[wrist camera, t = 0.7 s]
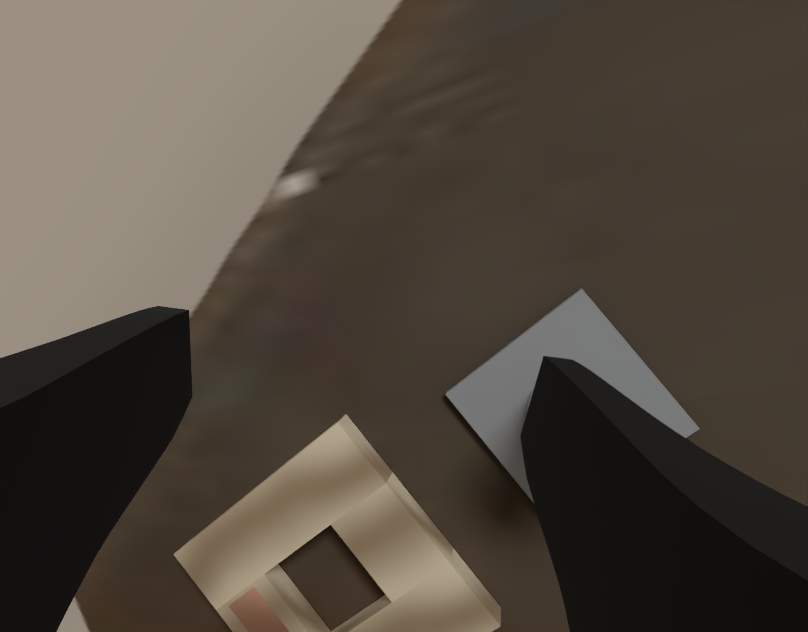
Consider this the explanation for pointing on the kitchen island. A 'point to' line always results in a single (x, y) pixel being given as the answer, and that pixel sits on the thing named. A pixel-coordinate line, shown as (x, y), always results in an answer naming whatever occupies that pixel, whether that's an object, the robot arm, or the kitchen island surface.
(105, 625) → the kitchen island surface
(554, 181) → the kitchen island surface
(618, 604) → the robot arm
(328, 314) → the kitchen island surface
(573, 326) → the pad
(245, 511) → the hole plate
